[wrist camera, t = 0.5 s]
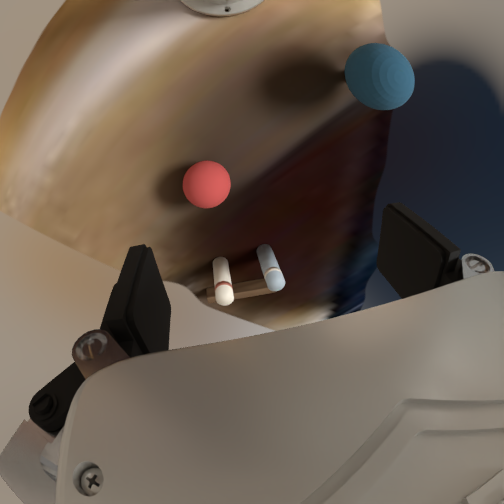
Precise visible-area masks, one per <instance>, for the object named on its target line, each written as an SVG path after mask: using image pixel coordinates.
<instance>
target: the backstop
mask: <svg viewBox="0 0 504 504" xmlns="http://www.w3.org/2000/svg"><path fill="white" fill-rule="evenodd" d="M232 289H233V295H234V299H239V298H245V297H251V296H257V295H263V294H268V293H274V292H276V291H271V290H269V289H268V286H267V283H266V281H265V279H259V280H253V281H247V282H241V283H235V284H232ZM206 290H207V300H208V303H214V302H217V301H216V295H215V287H210V288H206Z"/></svg>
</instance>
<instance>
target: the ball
mask: <svg viewBox="0 0 504 504" xmlns="http://www.w3.org/2000/svg"><path fill="white" fill-rule="evenodd" d="M230 185H231V184H230V177H229V174H228V173H227V171H226V169H225V168H224V167H223V166H221V165H220V164H218V163H216V162H213V161H201V162H198V163H196V164H194V165H193V166H191V167H190V168H189V169H188V170H187V172H186V174H185V176H184V179H183V191H184V194H185V196H186V198H187V199H188V200H189V201H190V202H191V203H192V204H193V205H195V206H197V207H201V208H212V207H215V206H217V205H219V204H221V203H222V202H223V201H224V200H225V199H226V197H227V196H228V194H229V191H230Z"/></svg>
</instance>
